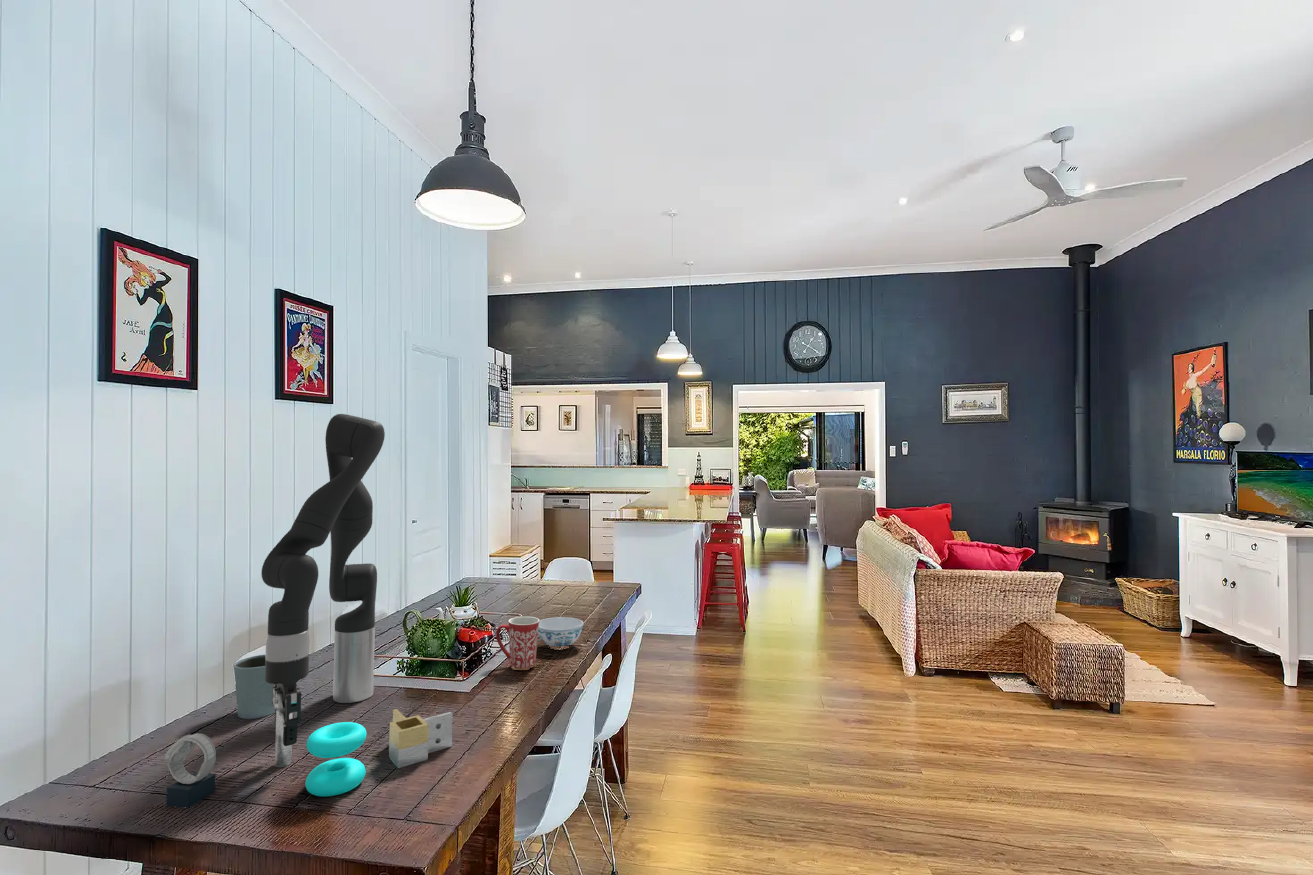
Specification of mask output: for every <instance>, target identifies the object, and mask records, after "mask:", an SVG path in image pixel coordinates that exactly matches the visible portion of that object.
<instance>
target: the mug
mask: <svg viewBox="0 0 1313 875" xmlns="http://www.w3.org/2000/svg"><path fill="white" fill-rule="evenodd" d="M540 620H541V619H539V618H537V617H535V616H515V617H511V618H510V619H508V622H507V623H508V624H500V626H498V627H497V629H496V632H495V636H496V637H495V638H496V642H497V644H498V646H499V648H500V649H501V651H502V653H503V654H504V655H505V657H506V658H507V659H508V661H509V667H510V666H511V667H515V668H522V667H528V666H531V665H533V664H534V663H535V662H536V661H537V649H538V638H539V635H538V626H539V621H540ZM501 629H505V630H506V631H507V633H508V640H509V641H508V643H509V646H508V648H509V650H508V649H507V648H506V647H505V645H504V643H503V642H502V640H501V636H500V634H501ZM535 664H536V663H535Z"/></svg>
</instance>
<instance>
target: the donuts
mask: <svg viewBox="0 0 1313 875" xmlns="http://www.w3.org/2000/svg"><path fill="white" fill-rule="evenodd" d="M367 736H368V735H367V730H366V728H365V727H364V726H363V725H362V724H360V723H357V722H352V721H351V722H350V721H342V722H336V723H331V724H327V725H325V726H322V727H320V728H317V729H316V730H314V731H313V732H312V733H311V734H310V735H309V737H308V738H307V740H306V744H305V745H306V749H307V752H308V753H310V754H311V755H312V756H314V757H317V758H321V759H322V758H323V759H329V760H327V761H324V762H322V763H320V764H318V765H317V766H316V767H314V768H313V769H312V770H311V771H310V772H309V773H308V774H307V777H306V779H305V783H304V784H305V788H306V791H307V792H308V793H309V794H311V795H313V796H316V797H334V796H339V795H342V794H345V793H348V792H350V791H352V790H353V789H355V788H357V787H358V786H359V785H360V784H361V783H362V782H363V780H364V779H365V777H366V773H367V772H366V767H365V765H364V763H362V762H361V761H360V760H359V759H356V758H352V757H342V756H346V755H349V754H351V753H354V752H355V751H356V750H358V749H359V748H360V747H361V746H362V745H363V744H364V743H365V741H366V739H367ZM339 757H340V758H339Z"/></svg>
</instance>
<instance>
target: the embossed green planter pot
mask: <svg viewBox="0 0 1313 875" xmlns="http://www.w3.org/2000/svg"><path fill="white" fill-rule="evenodd" d="M265 656H266V654H259V655H254V656H249V657H246V658H245V657H244V658H241V659H240V660H238V661H236V662H235V663H234V664H233V673H234V674H233V675H234V682H235V696H236V697H235V698H236V705H237V706H236V707H237V708H236V710H237V711H236V712H237V713H236V714H237V716H238V718H241V719H245V720H246V719H247V720H252V719H254V720H255V719H259V718H261V719H262V718H263V717H264V718H265V717H268V716H270V715H273V714H275V712H276V711H275V712H274V709H273V708H274V706H273V704H272V700H273V684H270V683H268V682H266V681H265Z"/></svg>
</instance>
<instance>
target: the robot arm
mask: <svg viewBox="0 0 1313 875" xmlns="http://www.w3.org/2000/svg"><path fill="white" fill-rule="evenodd" d="M385 434H386V433H385V427H384V426H383V425H382V423H380V422H379V421H375V420H372V419H368V418H364V417H359V416H355V415H351V414H346V413H336V414H335V415H333V416H332V417H331V418H330V420H329V421H328V424H327V426H326V431H325V437H324V438H325V453H326V460H327V466H328V473H329V474H328V476H329V481H327V482H326V483H325V484H323V485H322V486H320V487H319V488H318V489H316V490H315V491H314V492H312V494H311V495H309V497H308V498H307V499H306V500H305V502H304V503H303V504H302V507H301V508H300V510H299V512H298V514H297V516H296V518H295V519H294V522H293V524H292V525H291V528H290V529H289V531H287V532H286V533H285V534H284V535H283V536H282V537H281V538H280V540H279V541H278V542H277V544H276V545H275V546H274V547H273V548H272V549H271V551H270V552H269V553H268V554H267V556H266V558H265V559H264V562H263V565H262V566H261V574H260V575H261V579H262V582H263V583H264V584H265V585H266V586H268V587H270V588H275V589H280V590H281V589H282V590H284V592H283V596H282V599H281V600H279V601H276V602H274V603H272V604H271V605H270V607H269V609H268V616H267V617H268V619H267V637H266V641H265V642H266V643H265V655H266V656H265V681H266V682H268V683H270V684H273V700H272V704H273V706H274V708H273V709H274V712H275V711H276V710H275V703H276V702H278V707H279V715H280V716H282V717H283V744H284V746H289V745H295V744H297V741H298V739H297V738H298V725H299V724H301V722H302V696H303V695H302V692H301V688H300V687H298V685H297V682H299V681H300V680H304V679H305V678H306V677H307V676H308V675H309V671H310V670H309V669H310V667H309V666H310V634H309V622H310V620H309V619H310V615H309V614H310V612H309V611H310V606H311V604H312V601H313V598H314V594H315V590H316V587H317V584H318V580H319V566H318V564H317V562H316V560H315V559H314V558H313V557H312V556H310V555H309V554H308V552H309V551H310V550H312V549H315V548H319V547H321V546H323V545H324V544H325V542H326V541H327V539H328V537H329V535H330V566H329V567H330V568H329V578H328V580H329V585H328V591H329V595H330V599H331V600H332V602H335V603H346V602H347V603H348V602H349V603H350V602H351V603H352V602H361V604H359V606H357V607H355V608H354V609H353V610H350V611H348V612H345V613H342V614H341V615H339V616H337V617H336V619H335V620H334V640H333V641H334V645H333V646H334V647H333V649H334V650H333V677H332V678H333V679H332V680H333V683H332V700H333V702H336V703H340V704H350V703H357V702H362V701H365V700H367V699H369V698H371V697H372V696H373V695H374V681H375V680H374V677H375V644H376V643H375V639H376V638H375V636H376V598H377V586H378V569H377V567H376V565H375V564H373V563H350V564H346V563H347V561H348V559H349V558H350V555H351V554H352V552H354V550H355V549H356V548H357V547H358V546H359V544H361V542H363V540H365V537H367V535H368V534H369V532H370V531H371V529H372V526H373V515H374V514H373V512H374V511H373V510H374V509H373V508H374V507H373V506H374V505H373V499H372V496H371V494H370V492H369V491H368V489H367V487H366V485H364V483H363V481H362V480H363V478H364V477H365V475H366V473H367V472H368V470H370V467H371V466H372V464H373V463H374V462H375V460H376V459H377V457H378V455H379V453H380V451H382V450H381V449H382V448H383V445H384V442H385V437H386V436H385ZM291 713H293V717H292V719H289V714H291ZM274 730H275V731H276V712H275V713H274Z"/></svg>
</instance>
